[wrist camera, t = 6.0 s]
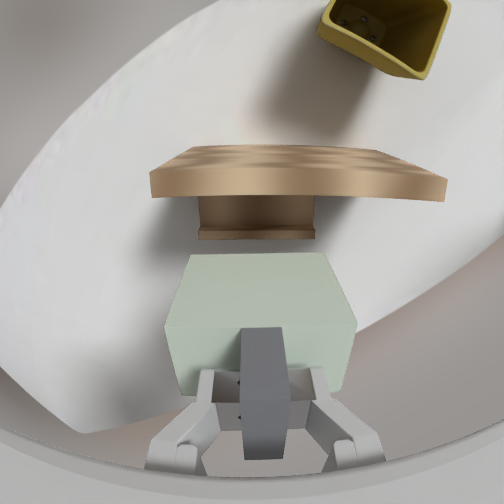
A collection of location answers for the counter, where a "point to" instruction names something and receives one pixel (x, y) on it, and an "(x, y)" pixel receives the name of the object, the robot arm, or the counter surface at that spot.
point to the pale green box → (260, 332)
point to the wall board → (283, 185)
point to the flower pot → (388, 32)
